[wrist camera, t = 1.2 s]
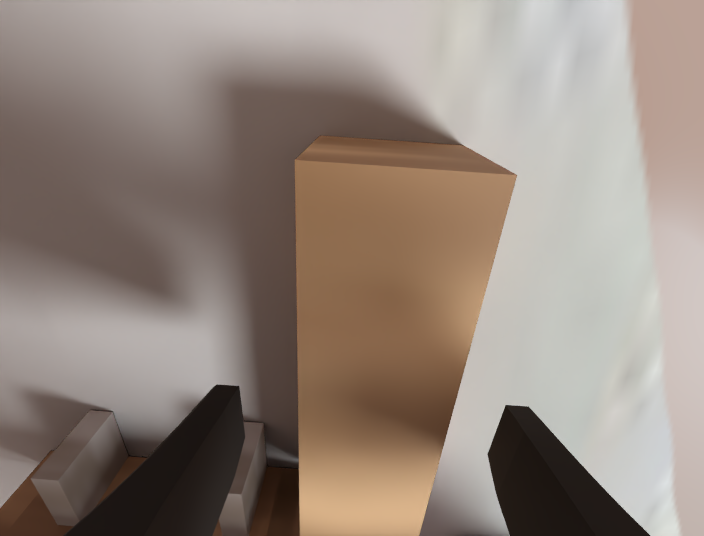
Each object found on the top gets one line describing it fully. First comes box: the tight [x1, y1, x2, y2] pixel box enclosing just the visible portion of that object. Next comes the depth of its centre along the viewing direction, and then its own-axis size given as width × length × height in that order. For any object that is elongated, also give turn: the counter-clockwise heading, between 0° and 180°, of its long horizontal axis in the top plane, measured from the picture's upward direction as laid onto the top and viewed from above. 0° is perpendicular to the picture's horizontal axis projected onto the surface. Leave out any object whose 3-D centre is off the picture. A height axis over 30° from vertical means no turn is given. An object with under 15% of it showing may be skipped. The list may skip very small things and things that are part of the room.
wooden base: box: [0, 410, 300, 536], centre depth 13 cm, size 5×13×6 cm, turn 87°
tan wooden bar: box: [295, 135, 517, 536], centre depth 11 cm, size 14×4×4 cm, turn 177°
